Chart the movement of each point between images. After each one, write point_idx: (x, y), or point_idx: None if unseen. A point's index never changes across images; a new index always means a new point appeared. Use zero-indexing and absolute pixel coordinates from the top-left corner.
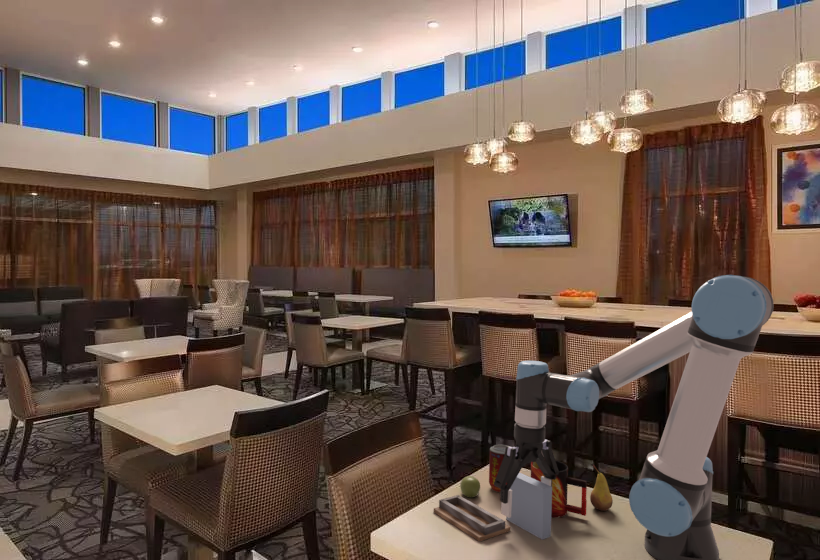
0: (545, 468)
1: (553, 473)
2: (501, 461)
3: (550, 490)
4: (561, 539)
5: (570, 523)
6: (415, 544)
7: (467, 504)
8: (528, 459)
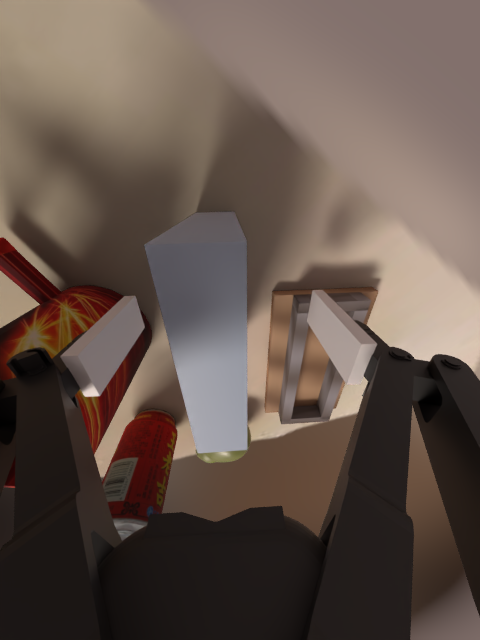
0: (61, 424)
1: (11, 388)
2: (147, 491)
3: (170, 238)
4: (177, 176)
5: (82, 242)
6: (463, 335)
7: (294, 395)
8: (320, 592)
